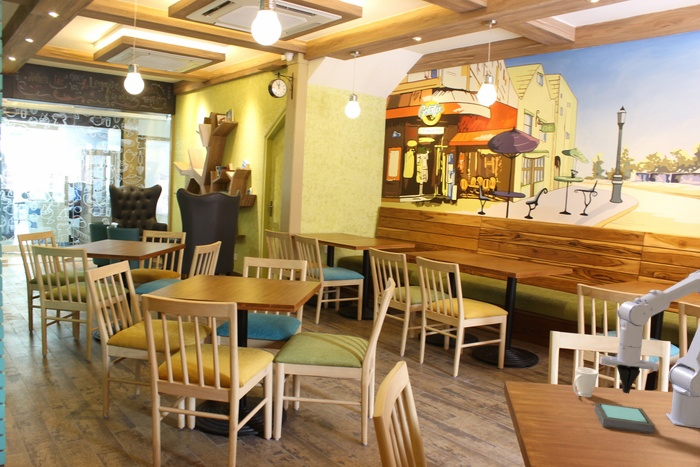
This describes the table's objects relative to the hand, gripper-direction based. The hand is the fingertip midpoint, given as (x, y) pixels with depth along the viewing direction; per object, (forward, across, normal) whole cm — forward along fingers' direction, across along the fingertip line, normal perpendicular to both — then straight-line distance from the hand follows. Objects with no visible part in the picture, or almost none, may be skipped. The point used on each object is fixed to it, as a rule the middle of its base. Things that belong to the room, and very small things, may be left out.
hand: (625, 392), depth 163 cm
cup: (+9, +8, -19) cm, 22 cm away
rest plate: (+8, 0, 0) cm, 8 cm away
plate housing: (+9, 0, 0) cm, 9 cm away
